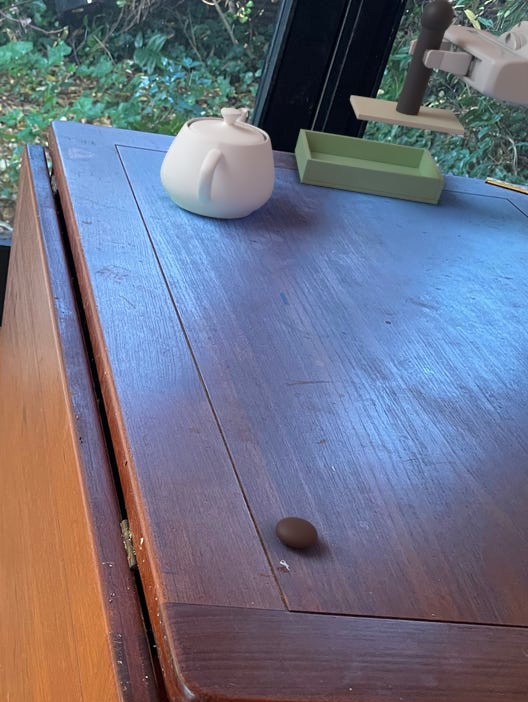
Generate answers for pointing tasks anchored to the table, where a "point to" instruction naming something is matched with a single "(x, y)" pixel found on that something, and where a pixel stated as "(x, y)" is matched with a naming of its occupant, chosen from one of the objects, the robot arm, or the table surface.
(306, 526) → the chocolate truffle
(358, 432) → the table surface
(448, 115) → the joystick
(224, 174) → the teapot
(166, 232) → the table surface
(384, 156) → the tray
